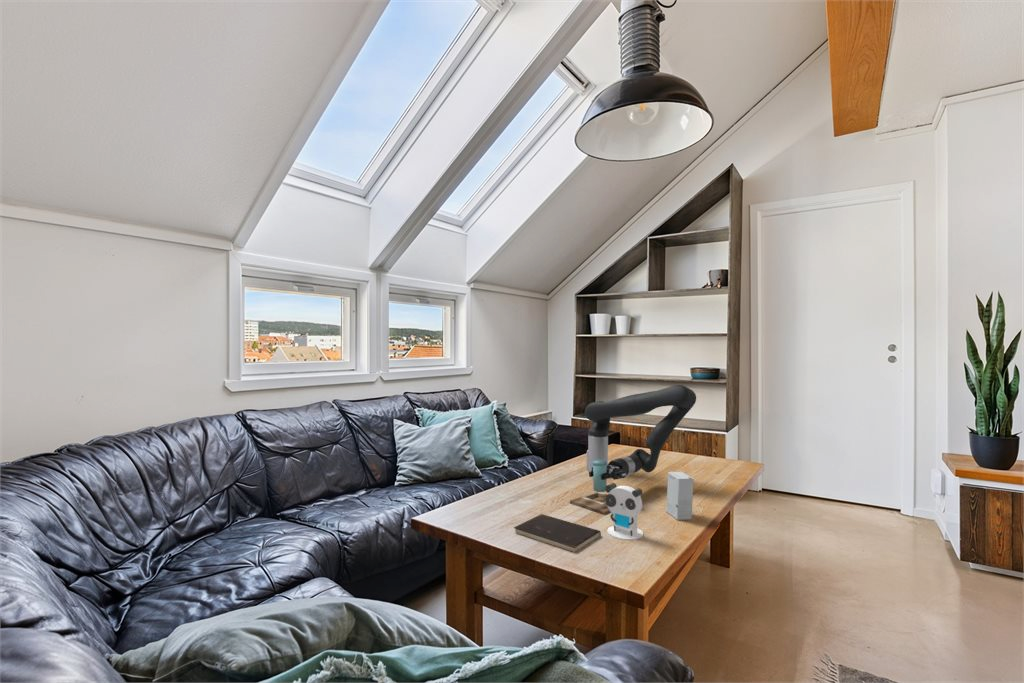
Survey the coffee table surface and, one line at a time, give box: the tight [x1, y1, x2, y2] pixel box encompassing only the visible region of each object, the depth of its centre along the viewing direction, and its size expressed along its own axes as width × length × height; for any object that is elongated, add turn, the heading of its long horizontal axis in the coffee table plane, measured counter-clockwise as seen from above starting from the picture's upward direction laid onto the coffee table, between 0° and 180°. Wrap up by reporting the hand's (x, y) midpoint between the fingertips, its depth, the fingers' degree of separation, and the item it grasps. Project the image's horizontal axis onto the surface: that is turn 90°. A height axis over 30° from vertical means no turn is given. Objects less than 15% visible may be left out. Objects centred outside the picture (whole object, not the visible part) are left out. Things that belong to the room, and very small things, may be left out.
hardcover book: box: [513, 513, 602, 553], centre depth 154 cm, size 16×23×2 cm
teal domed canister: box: [592, 460, 608, 493], centre depth 182 cm, size 5×5×11 cm
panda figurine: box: [605, 482, 644, 541], centre depth 155 cm, size 12×11×15 cm
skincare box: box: [666, 471, 694, 521], centre depth 170 cm, size 8×6×15 cm
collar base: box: [569, 491, 611, 515], centre depth 182 cm, size 16×16×2 cm
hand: (595, 475), depth 180 cm, fingers closed on teal domed canister, 5 cm apart
